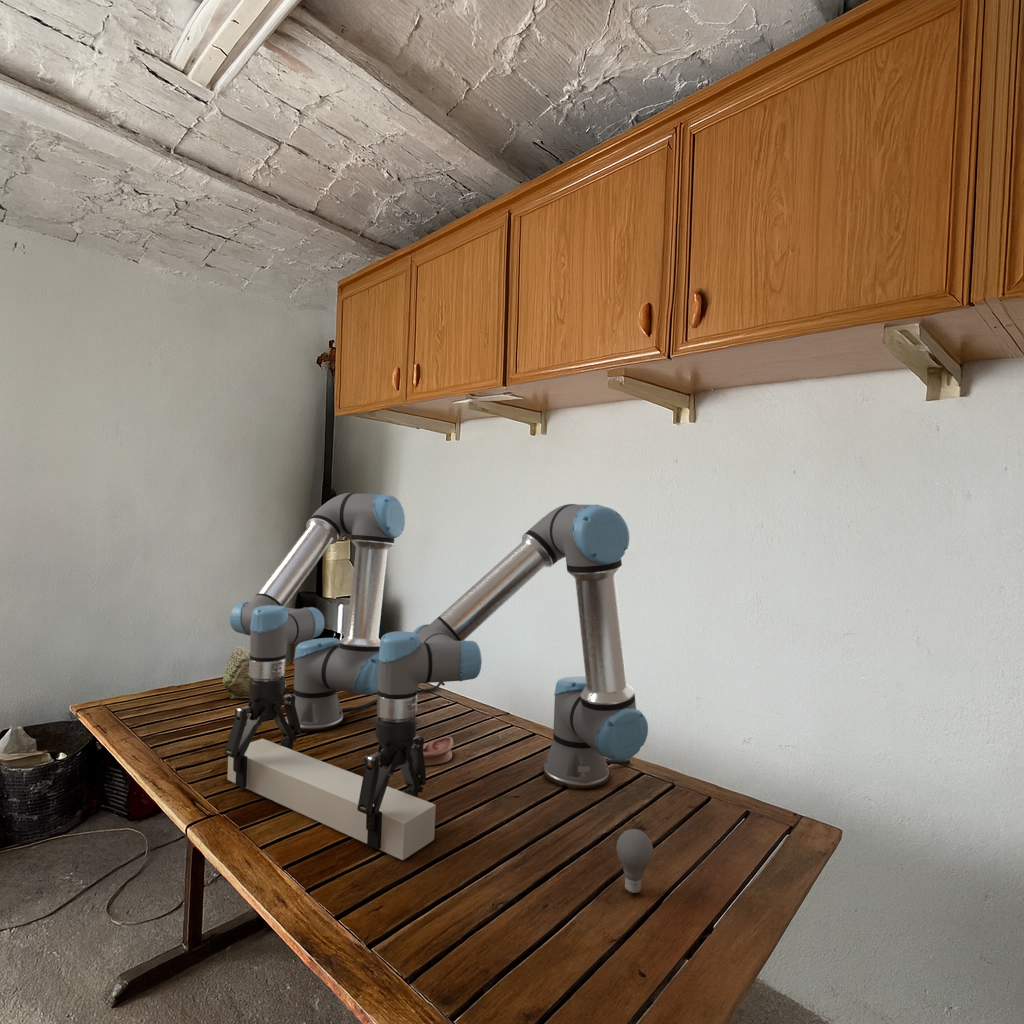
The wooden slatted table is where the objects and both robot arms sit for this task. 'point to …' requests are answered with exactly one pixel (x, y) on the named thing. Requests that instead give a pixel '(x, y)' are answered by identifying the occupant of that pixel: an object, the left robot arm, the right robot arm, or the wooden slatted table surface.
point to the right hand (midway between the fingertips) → (391, 835)
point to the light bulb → (634, 857)
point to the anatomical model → (438, 751)
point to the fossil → (238, 673)
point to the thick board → (335, 797)
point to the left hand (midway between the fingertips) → (263, 776)
